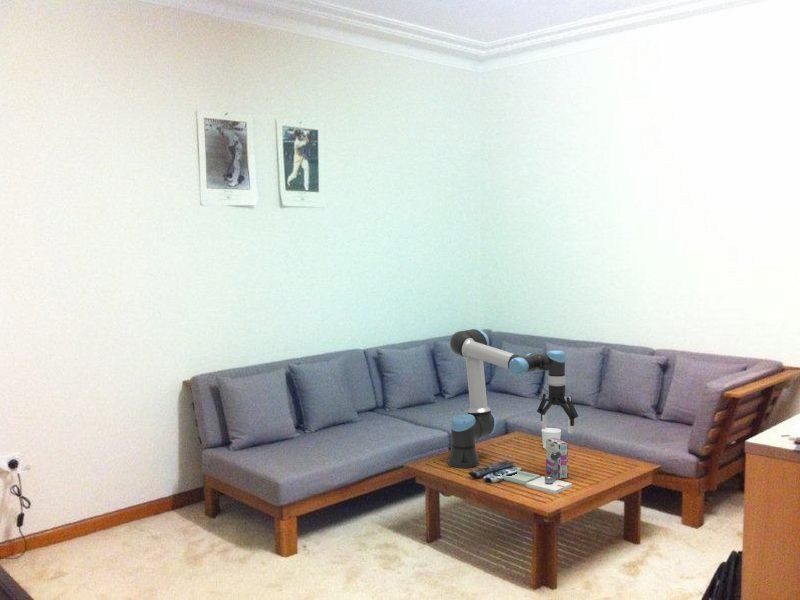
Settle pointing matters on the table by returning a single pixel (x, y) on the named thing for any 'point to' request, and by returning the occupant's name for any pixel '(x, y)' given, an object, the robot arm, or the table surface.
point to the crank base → (549, 485)
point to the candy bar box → (562, 447)
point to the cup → (550, 434)
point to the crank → (554, 476)
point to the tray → (520, 477)
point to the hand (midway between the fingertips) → (557, 430)
